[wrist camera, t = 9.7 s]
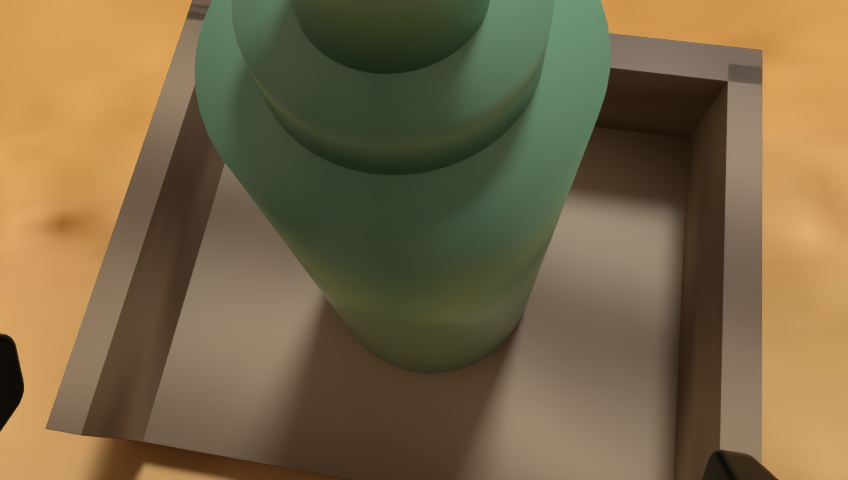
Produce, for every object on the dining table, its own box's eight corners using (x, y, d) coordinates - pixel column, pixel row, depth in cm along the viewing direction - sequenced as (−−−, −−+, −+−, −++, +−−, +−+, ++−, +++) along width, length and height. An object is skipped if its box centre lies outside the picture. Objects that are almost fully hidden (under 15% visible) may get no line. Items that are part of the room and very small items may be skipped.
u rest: (697, 542, 16) (761, 560, 12) (124, 437, 17) (45, 428, 14) (710, 121, 19) (762, 50, 16) (237, 64, 21) (196, -12, 18)
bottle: (426, 416, 16) (308, 209, 4) (296, 271, 18) (-103, -231, 5) (571, 278, 17) (866, -255, 5) (436, 152, 19) (388, -513, 6)
